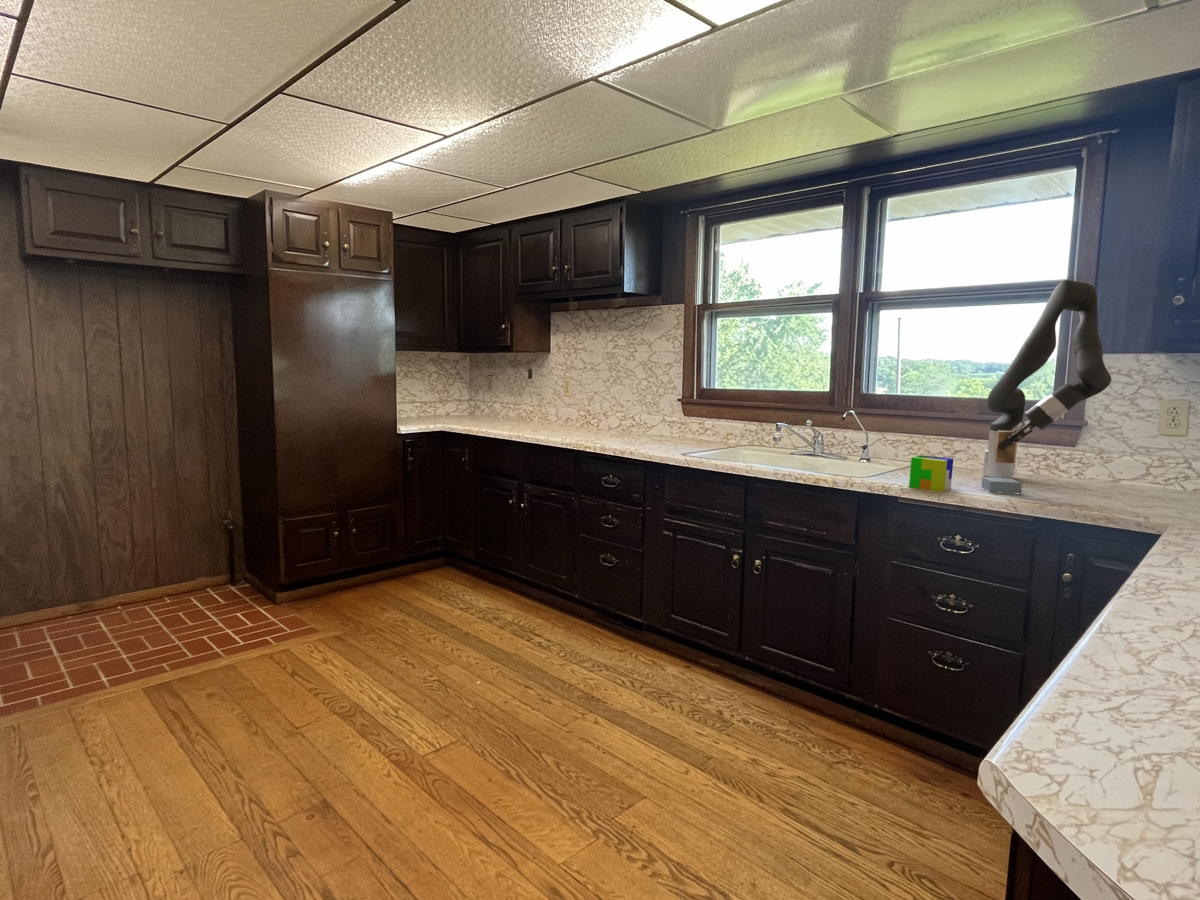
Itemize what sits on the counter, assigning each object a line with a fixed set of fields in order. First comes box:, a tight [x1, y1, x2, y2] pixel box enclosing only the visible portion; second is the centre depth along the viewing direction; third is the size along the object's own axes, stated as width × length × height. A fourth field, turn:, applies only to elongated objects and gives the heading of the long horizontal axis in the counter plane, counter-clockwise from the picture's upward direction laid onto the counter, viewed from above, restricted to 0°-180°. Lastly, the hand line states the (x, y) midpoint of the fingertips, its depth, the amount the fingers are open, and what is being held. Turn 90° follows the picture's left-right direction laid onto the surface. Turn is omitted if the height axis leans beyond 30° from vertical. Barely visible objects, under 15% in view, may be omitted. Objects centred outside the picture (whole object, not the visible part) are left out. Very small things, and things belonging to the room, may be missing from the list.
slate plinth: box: [981, 476, 1023, 495], centre depth 220 cm, size 9×9×4 cm
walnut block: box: [995, 430, 1017, 463], centre depth 218 cm, size 5×5×10 cm
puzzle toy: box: [908, 455, 954, 493], centre depth 223 cm, size 10×10×10 cm
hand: (998, 447), depth 219 cm, fingers closed on walnut block, 5 cm apart
